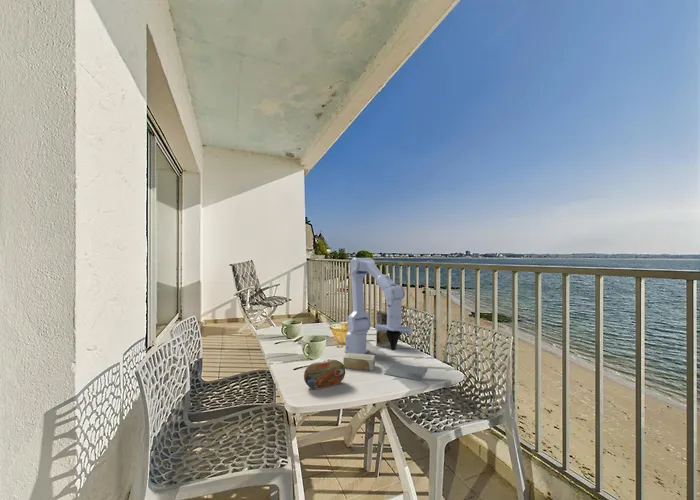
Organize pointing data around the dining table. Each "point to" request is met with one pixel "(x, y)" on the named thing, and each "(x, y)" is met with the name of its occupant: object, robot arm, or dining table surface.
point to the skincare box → (359, 361)
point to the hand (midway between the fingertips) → (393, 349)
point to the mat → (406, 371)
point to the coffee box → (381, 334)
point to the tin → (324, 374)
